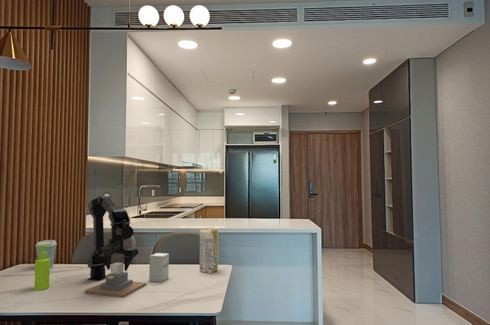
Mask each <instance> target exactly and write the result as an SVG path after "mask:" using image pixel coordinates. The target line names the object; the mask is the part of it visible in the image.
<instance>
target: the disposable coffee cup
mask: <svg viewBox="0 0 490 325" xmlns="http://www.w3.org/2000/svg"><path fill="white" fill-rule="evenodd" d="M42 244H52V245H48V246H45V251H47V258H49V259H50V269H52V268H53V266H54V262H55V256H56V248H57V245H58V244H57V242H56V240H54V239H47V240H41V241H38V242H37V243H36V244H35V250H36V254H37V259H39V252H40V251H41V247H39V245H42Z"/></svg>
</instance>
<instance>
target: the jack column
mask: <svg viewBox="0 0 490 325" xmlns="http://www.w3.org/2000/svg"><path fill="white" fill-rule="evenodd" d="M124 267H125V262H114V263H111V265H110V273H111V275H121V274H123V272H124Z"/></svg>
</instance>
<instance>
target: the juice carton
mask: <svg viewBox="0 0 490 325" xmlns="http://www.w3.org/2000/svg"><path fill="white" fill-rule="evenodd" d="M218 267H219V231H218V229H214V227H211V226H208V228H203V229H200V230H199V272H200V273H207V274H213V273H216V272H217V271H218V269H219V268H218Z"/></svg>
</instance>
